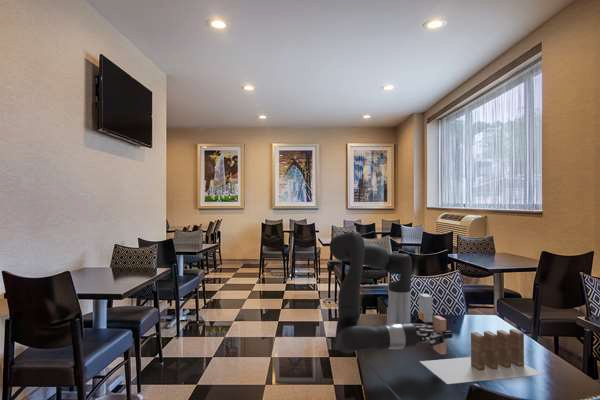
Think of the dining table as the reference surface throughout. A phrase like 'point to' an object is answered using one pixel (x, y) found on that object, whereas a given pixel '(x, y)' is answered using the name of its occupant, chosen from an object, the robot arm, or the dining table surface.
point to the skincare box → (425, 308)
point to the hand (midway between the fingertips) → (447, 331)
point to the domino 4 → (517, 347)
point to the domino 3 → (504, 348)
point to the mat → (473, 371)
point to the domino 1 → (477, 351)
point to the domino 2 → (491, 349)
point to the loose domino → (439, 325)
